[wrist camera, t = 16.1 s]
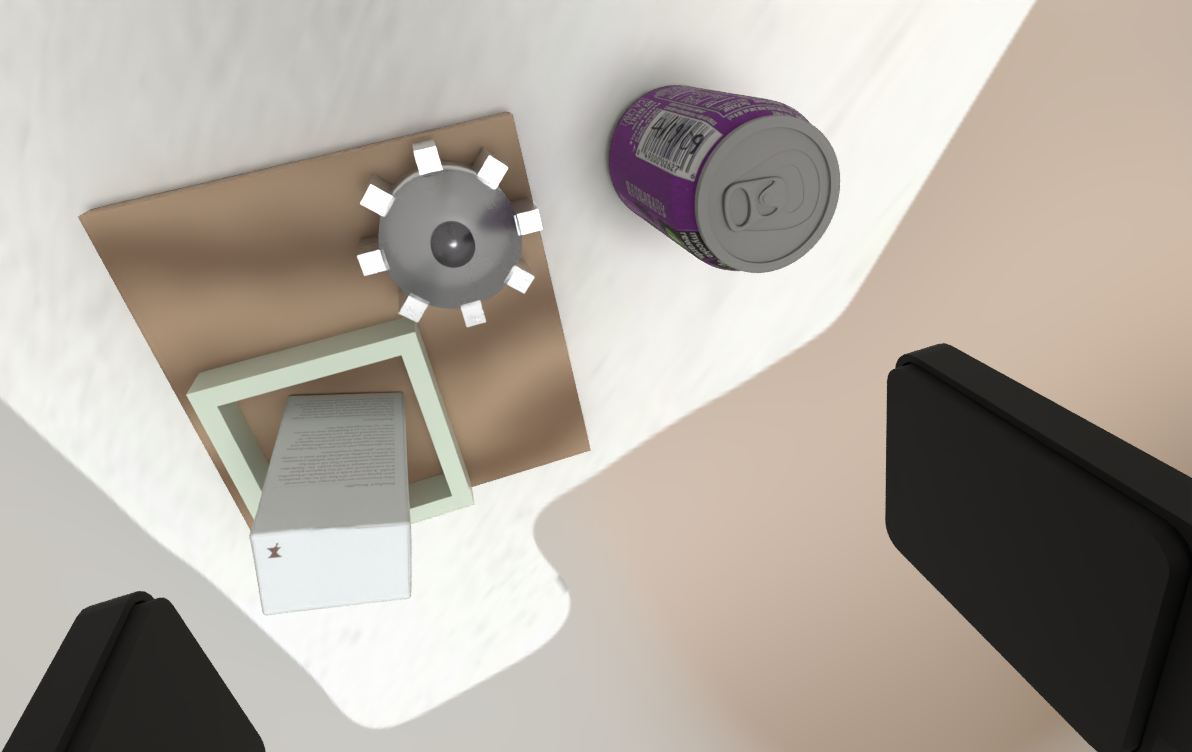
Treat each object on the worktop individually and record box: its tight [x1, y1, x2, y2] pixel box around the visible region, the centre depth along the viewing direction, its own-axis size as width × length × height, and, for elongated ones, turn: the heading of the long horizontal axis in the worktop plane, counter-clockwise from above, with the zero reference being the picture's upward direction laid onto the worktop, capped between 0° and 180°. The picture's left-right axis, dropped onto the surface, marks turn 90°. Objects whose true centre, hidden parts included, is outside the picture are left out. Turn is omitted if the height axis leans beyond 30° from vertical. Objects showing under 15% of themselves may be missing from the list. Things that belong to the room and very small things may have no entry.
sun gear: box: [357, 138, 543, 327], centre depth 34 cm, size 9×9×4 cm
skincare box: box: [250, 392, 411, 615], centre depth 33 cm, size 6×4×12 cm
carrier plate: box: [78, 112, 590, 530], centre depth 38 cm, size 20×20×2 cm
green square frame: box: [186, 317, 474, 524], centre depth 37 cm, size 11×11×2 cm
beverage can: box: [609, 85, 840, 273], centre depth 33 cm, size 7×7×12 cm
